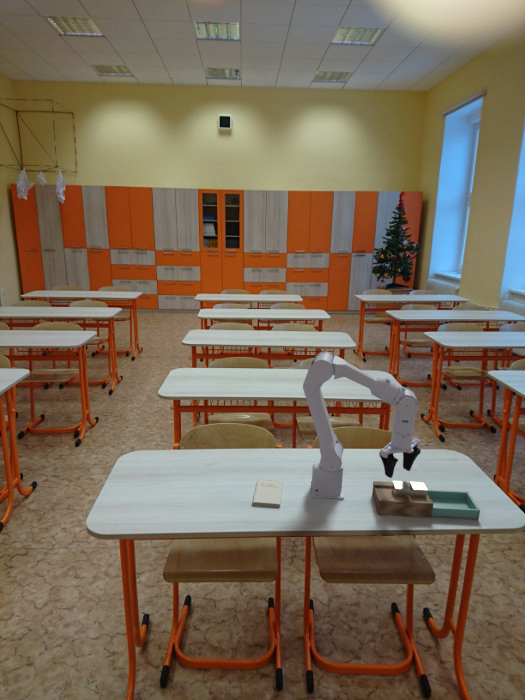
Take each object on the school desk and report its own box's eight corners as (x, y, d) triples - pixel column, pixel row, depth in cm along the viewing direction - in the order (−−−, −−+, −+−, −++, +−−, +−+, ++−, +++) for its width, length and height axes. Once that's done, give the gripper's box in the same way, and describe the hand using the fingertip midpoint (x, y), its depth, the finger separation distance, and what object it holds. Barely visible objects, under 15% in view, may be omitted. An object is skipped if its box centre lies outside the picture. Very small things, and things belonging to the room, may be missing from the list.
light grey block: (412, 498, 127) (413, 489, 127) (408, 490, 131) (410, 481, 130) (426, 499, 127) (427, 490, 126) (422, 491, 131) (423, 482, 130)
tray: (431, 517, 126) (433, 507, 125) (422, 497, 135) (423, 489, 134) (478, 519, 125) (480, 510, 124) (466, 500, 134) (467, 491, 133)
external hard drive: (252, 506, 130) (257, 483, 142) (280, 508, 129) (282, 485, 141) (252, 501, 130) (257, 478, 142) (280, 504, 129) (283, 480, 141)
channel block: (378, 514, 126) (379, 500, 125) (372, 494, 136) (373, 481, 135) (431, 517, 125) (433, 503, 124) (421, 497, 135) (423, 483, 134)
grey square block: (394, 497, 128) (395, 488, 127) (391, 489, 132) (392, 480, 131) (408, 498, 127) (409, 489, 127) (405, 490, 131) (406, 481, 131)
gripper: (395, 442, 120) (390, 486, 123) (430, 431, 127) (425, 472, 131) (376, 432, 126) (372, 474, 129) (411, 421, 133) (406, 461, 137)
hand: (397, 472), depth 130 cm, fingers open, 7 cm apart
